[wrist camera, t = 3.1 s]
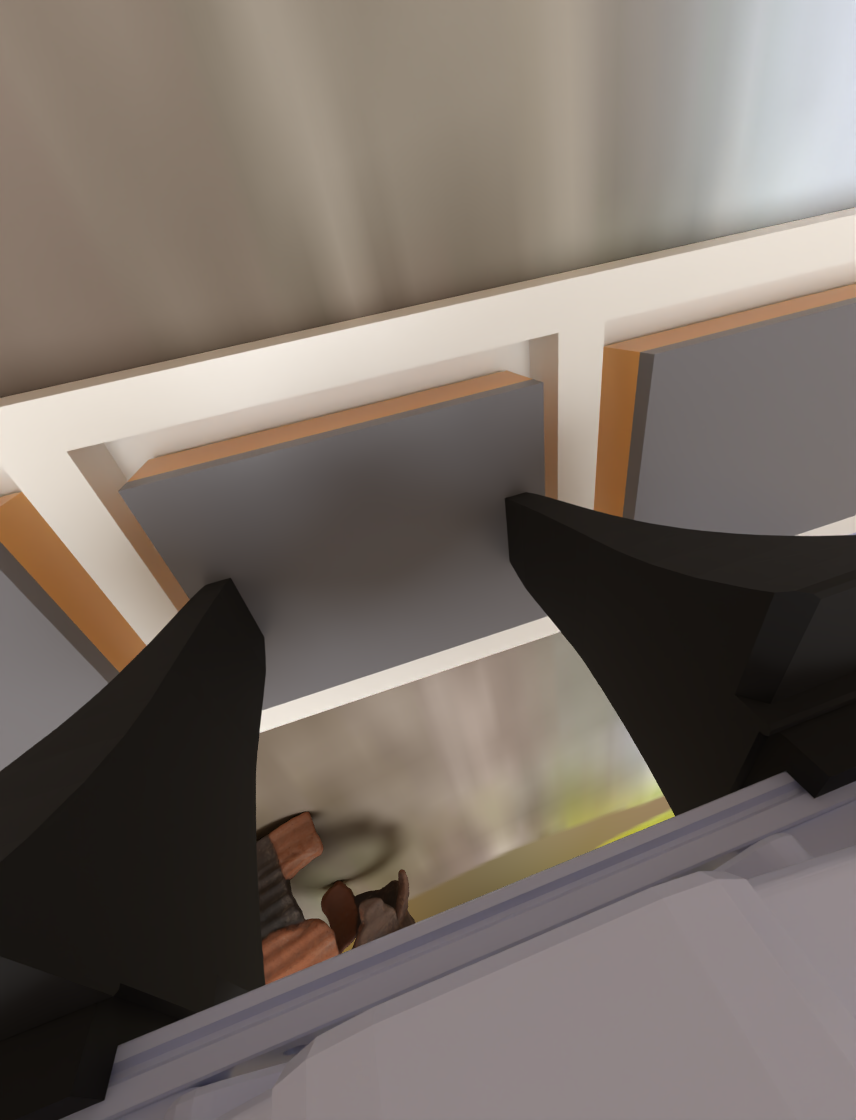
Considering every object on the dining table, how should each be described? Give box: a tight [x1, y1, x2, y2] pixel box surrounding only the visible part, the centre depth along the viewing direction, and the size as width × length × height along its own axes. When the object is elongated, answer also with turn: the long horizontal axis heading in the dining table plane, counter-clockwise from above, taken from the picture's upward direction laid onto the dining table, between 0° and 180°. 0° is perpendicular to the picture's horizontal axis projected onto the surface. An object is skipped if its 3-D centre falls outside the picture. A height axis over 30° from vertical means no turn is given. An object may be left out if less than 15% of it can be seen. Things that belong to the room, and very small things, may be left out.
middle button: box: [118, 370, 547, 710], centre depth 12 cm, size 9×7×2 cm
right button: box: [594, 284, 856, 536], centre depth 13 cm, size 9×7×2 cm
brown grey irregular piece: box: [256, 812, 415, 985], centre depth 23 cm, size 12×10×8 cm
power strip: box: [0, 207, 856, 733], centre depth 12 cm, size 45×11×3 cm, turn 100°
